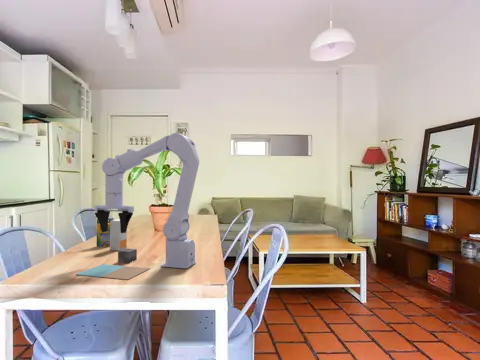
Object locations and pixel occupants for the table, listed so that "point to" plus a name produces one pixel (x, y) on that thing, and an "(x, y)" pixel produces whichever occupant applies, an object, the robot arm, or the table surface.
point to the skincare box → (117, 236)
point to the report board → (113, 272)
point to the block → (127, 255)
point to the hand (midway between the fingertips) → (114, 232)
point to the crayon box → (103, 235)
